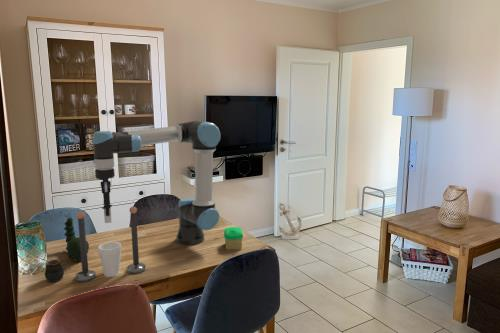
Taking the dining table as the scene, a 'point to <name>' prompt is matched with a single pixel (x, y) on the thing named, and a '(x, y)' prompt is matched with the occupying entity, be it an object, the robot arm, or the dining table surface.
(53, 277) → the mate gourd
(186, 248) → the dining table surface
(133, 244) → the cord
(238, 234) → the cake
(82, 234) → the dark gray rod
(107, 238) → the dining table surface
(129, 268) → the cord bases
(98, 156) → the robot arm
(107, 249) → the foam cup
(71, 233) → the toy figurine
